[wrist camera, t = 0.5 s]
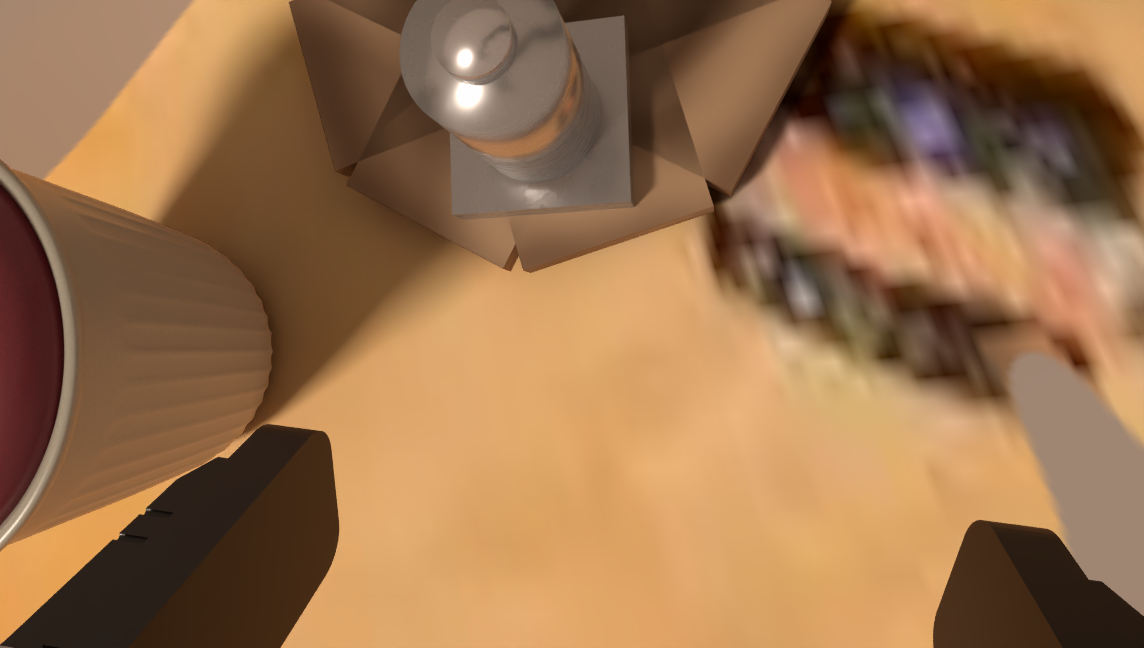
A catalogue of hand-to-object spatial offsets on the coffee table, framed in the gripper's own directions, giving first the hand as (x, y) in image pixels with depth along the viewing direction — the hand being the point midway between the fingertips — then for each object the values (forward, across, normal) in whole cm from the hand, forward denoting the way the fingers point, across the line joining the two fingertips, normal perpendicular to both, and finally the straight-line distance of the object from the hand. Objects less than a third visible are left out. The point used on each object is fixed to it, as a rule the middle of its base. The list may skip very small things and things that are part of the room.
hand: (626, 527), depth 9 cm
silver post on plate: (+30, +6, 0) cm, 30 cm away
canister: (+28, +27, +15) cm, 42 cm away
